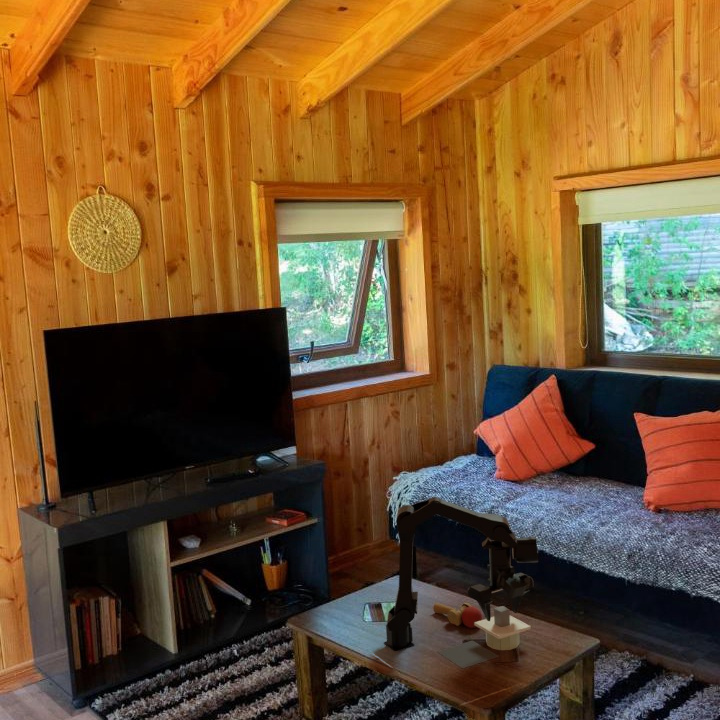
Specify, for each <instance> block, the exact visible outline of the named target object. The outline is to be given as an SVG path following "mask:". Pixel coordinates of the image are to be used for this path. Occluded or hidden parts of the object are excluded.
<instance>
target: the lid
mask: <svg viewBox="0 0 720 720" xmlns="http://www.w3.org/2000/svg"><path fill="white" fill-rule="evenodd" d="M510 613H511V612H510V608H507V607H506V606H504V605H502V606H501V605H500V606H498V607H494V608H493V614H494V615H493V616H491V618H490V621H487V619H486V618H485V619H482V620H481V621H477V622H474V625H475V626H477V627H476V628H478V629H481V630H482V631H484V632H485V633H486V632H487V633H489V634H491V635H492V636H494V637H496V638H498V639H501V638H504V637H507V636H510V635H513V634H516V633H519V634H520V633H522V632H526V631H529V630H531V629H532V628H531V625H530V624H527V623H525V622H523V621H522V620H520V619H518V618H516V617H514V616H512V615H511V614H510Z"/></svg>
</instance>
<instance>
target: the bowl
mask: <svg viewBox="0 0 720 720" xmlns="http://www.w3.org/2000/svg"><path fill="white" fill-rule="evenodd" d="M520 640H521V639H520V633H516V634H513V635H510V636H507V637H504V638H501V639H498V638H496V637H494V636H492V635H491V634H489V633H487V632H485V641H486V642H485V643H486V645H487V646H488V648H491V649H493V650H498V651H511V650H514V649H516V648H518V647H519V646H520V643H521V642H520Z"/></svg>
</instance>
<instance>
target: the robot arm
mask: <svg viewBox="0 0 720 720" xmlns="http://www.w3.org/2000/svg"><path fill="white" fill-rule="evenodd" d="M434 516H438V517H441V518H445V519H448V520H451V521H454V522H456V523H458V524H461V525H465V526H467V527H470V528H472V529H473V528H474V529H475V530H476V531H479V532H480V533H481V534H483V535H484V536H485V537H486V539H485V540H484V541H482V542H481V545H482V549H484V550H485V549H486V550H487V549H488V552H489V553H488V554H489V564H486V569H487V570H489V578H487V584H489V586H486V585H483V584H481V583H478V584H475V585H472V586H469V587H468V588H467V597H469V598H471V599H472V600H475V601H476V602H477V604H478V606H479V607H480V610H481V611H482V614H483V615H484V617H485V619H487V621H490V618H491V617H492V616H491V604H492V603H493V601H494V600H493V599H492V598H493V594H494V593H497V592H501V591H504V592H505V593H506V594H507V596H508V597H509V598H510V601H511V608H512V609H511V610H512V612H513V613H514V614H517V612H518V610H519V608H520V607H519V606H520V604H521V601H522V599H523V597H524V595H525V594H526V593H528V592H530V590H531V589H532V588H534V580H533V577H531V576H529V575H528V574H525V573H523V572H518V573H516V572H515V567H514V566H512V564H511V563H512V562H511V561H512V560H515V562H517V563H518V564H519V563H521V564H523V563H527V564H528V563H539V551H538V544H537V537H536V536H529V537H517V536H516V534H515V533H514V532H513V530H511V528H510V525H509V521H508V520H507V517H505V516H503V515H500V514H494V513H482V512H481V513H480V512H477V511H474V510H472V509H469V508H466V507H463V506H461V505H457V504H455V503H452V502H450V501H446V500H444V499H441V498H440V497H438V496H433V497H431V498H428V499H426V500H422V501H418V502H416V503H413V504H411V505H410V504H404V505H402V506H401V507H400V508H399V509H398V510H397V515H396V521H395V522H396V528H397V529H396V530H397V534H398V538H399V565H398V566H399V569H398V570H399V571H398V587H397V588H398V589H397V593H396V598H395V602H394V605H393V606H392V608H391V609H389V611H388V613H387V621H386V625H385V630H386V641H384V642H383V644H384V645H386V646H387V647H388V648H389V649H391V651H394V652H399V651H403V650H405V649H409V648H412V647H415V643H414V642H413V627H411V626H412V625H411V622H412V621H414V619H415V616H416V615H417V614H418V595H419V591H413V590H414V589H413V586H412V585H413V558H414V557H413V552H414V548H413V547H414V539H415V535H416V531H417V526H418V525H421V524H423V523H425V522H426V521H427V520H429V519H431V518H432V517H434ZM511 549H512V550H511ZM511 551H512V552H511ZM511 553H512V560H511Z"/></svg>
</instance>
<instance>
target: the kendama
mask: <svg viewBox="0 0 720 720" xmlns="http://www.w3.org/2000/svg"><path fill="white" fill-rule="evenodd" d="M432 609H433V612H434V613H436V614H441V615H442V614H443V615H447V619H448V621H449V622H450V624H453V625H456V626H457V627H458V626H461V625H462V623H463V625H465V627H467V628H469V629H474V628H478V627H477V626H475V625H474V622H477V621H481V620H483V615H482V614H483V613H482V612H481V610H479V608H478V607H475V606H472V605H471V604H470V603H469V602H465V603H462V605H461V608H460V609H459V610H458V609H456V608H453V607H452V606H451V607H450V606H448V605H445V604H441V603H439V602H436V603H434V604H433V607H432Z"/></svg>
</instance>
